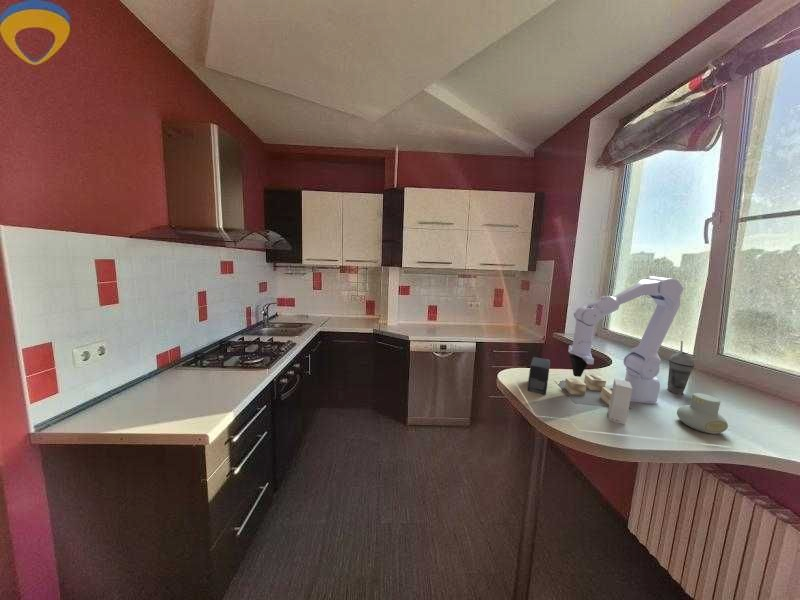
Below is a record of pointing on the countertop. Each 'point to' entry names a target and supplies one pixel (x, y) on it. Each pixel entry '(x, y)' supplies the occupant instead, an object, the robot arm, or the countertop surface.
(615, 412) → the skincare box
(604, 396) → the marked block
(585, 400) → the mat
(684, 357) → the beverage cup
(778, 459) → the countertop surface
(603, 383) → the marked block
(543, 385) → the small box
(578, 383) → the plain block
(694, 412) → the air freshener
